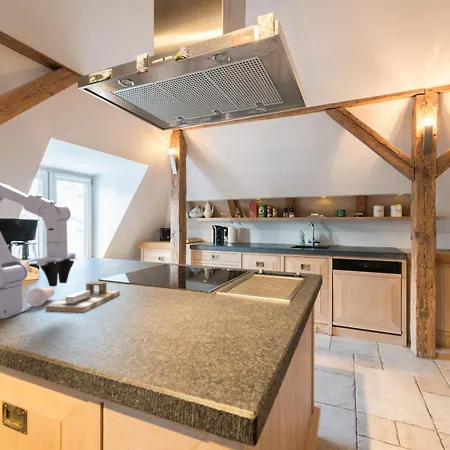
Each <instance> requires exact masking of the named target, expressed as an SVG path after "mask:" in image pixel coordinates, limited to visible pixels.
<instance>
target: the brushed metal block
mask: <svg viewBox="0 0 450 450" xmlns="http://www.w3.org/2000/svg"><path fill="white" fill-rule="evenodd" d="M88 297H90V291H88V290H80V291H78V292H75V293H72V294H69V295H67V296H65V299H66V303H76V302H78V301H81V300H83V299H86V298H88Z"/></svg>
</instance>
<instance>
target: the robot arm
mask: <svg viewBox="0 0 450 450" xmlns="http://www.w3.org/2000/svg"><path fill="white" fill-rule="evenodd" d="M4 199H7V200H9V201H12V202H14V203H18V204H20V205H23V206H22V207H23V209H24V210H25V211H26V212H29V213H31V214H33V215H35V216H38V217H40V218H42V220H43V221H44V226H45V227H46V228H45V230H46V256H44V257H40V258H36V266H39V267H40V269H41V270H42V272H43V273H44V275H45V277H46V279H47V282H48V286H49V287H57V286H58V281H59V284H67V282H68V278H69V275H70V272H71V269H72V267H73V265H74V264H75V262H74V261H75V260H76V253H74V252H70V253H68V225H67V222H68V221H69V219H70V218H71V210H70V209H69V207H68V206H66V205H65V204H56V201H54V200H48V199H46V198H44V197H43V195H42V194H39V193H38V194H37V193H36V194H29V195H27V194H26V193H23V192H21V191H19V190H18V189H15V188H14V187H12V186H10V185H8V184H5V183H2V182H0V203H1V202H2V201H3V200H4ZM27 277H28V269H27V267H26V265H24V264H23V263H22V262H21V260H20V259H19V257H17V256H14V255H13V254H12V253H11V251H10V248H9V247H8V245H7V243H6V240H5V238H4V237H3V234H2V231H0V319H3V320H5V319H8V318H10V317H12V316H15V315H18V314H21V313H23V312H26V311H29V310H30V307H24V306H23V305H24V304H23V303H24V302H23V300H24V299H23V284H24V281H25V280H26V278H27Z"/></svg>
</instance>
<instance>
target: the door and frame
mask: <svg viewBox="0 0 450 450" xmlns="http://www.w3.org/2000/svg"><path fill="white" fill-rule="evenodd" d="M85 286H86V287H85V289H86V290H88V291H90V297H88V298H86V299H83V300H81V301H78V302H76V303H66V298H64V299H60V300H58V301H55V302H53V303H50V304H47V305H46V306H45V311H48V312H49V311H51V312H72V313H73V312H75V313H77V312H78V313H85V312H86V311H89V310H91V309H93V308H95V307H97V306H100V305H102V304H103V303H105V302H107V301H109V300H112V299H114V298H115V297H118V296H120V293H121V291H120V290H107V282H106V281H90V282H87V283H86V284H85ZM95 286H98V290H97V289H95Z"/></svg>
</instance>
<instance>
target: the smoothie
mask: <svg viewBox="0 0 450 450" xmlns="http://www.w3.org/2000/svg"><path fill="white" fill-rule="evenodd" d="M54 295H55V289H54V288H52V287H51V286H49V287H35V288H33V289H30V290H29V291H28V292H27V294H26V301H27V304H29V305H30V306H31V307H36V308H37V307H41V306H42V305H44V304H45V302H46V301H48V300H50V298H52V297H54Z"/></svg>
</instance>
